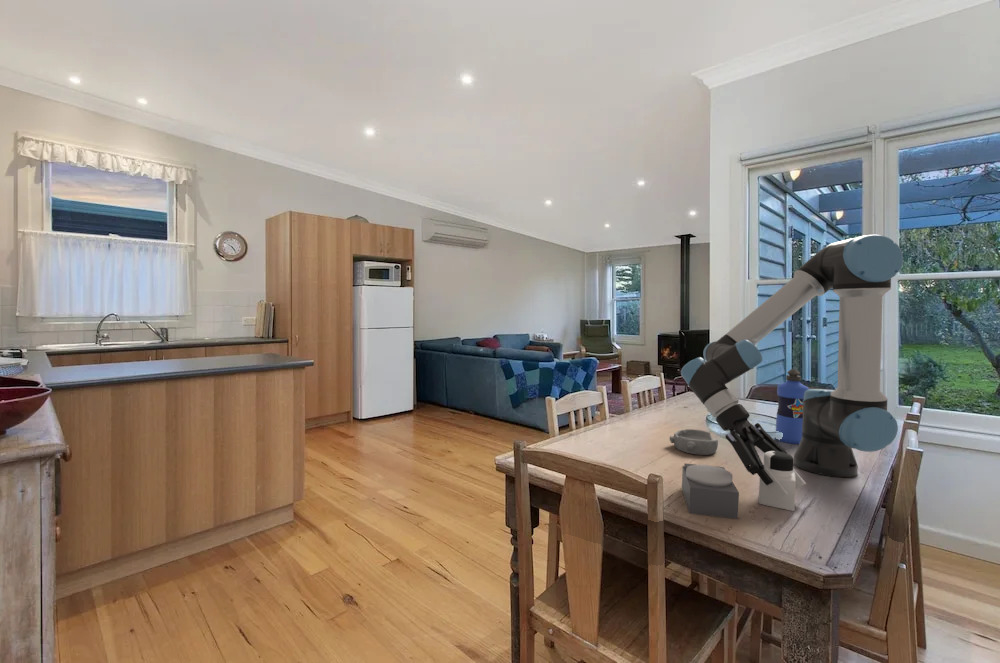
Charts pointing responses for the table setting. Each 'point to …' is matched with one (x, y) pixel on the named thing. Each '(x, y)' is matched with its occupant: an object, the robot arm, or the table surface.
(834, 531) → the table surface
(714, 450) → the dish
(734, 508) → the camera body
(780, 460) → the medicine bottle
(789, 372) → the water bottle
